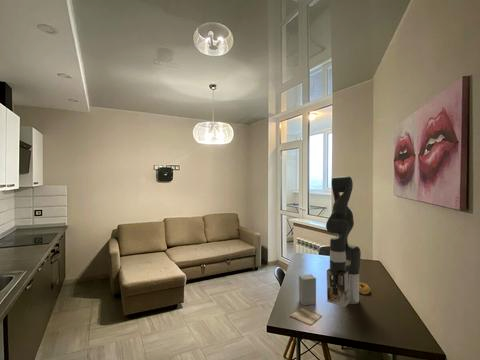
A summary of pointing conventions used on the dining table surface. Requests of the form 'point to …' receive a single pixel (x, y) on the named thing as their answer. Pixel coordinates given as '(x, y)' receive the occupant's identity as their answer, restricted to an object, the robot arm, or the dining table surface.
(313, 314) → the cork rest mat
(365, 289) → the bagel
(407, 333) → the dining table surface
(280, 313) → the dining table surface
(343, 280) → the coffee box
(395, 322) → the dining table surface
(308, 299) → the skincare box
